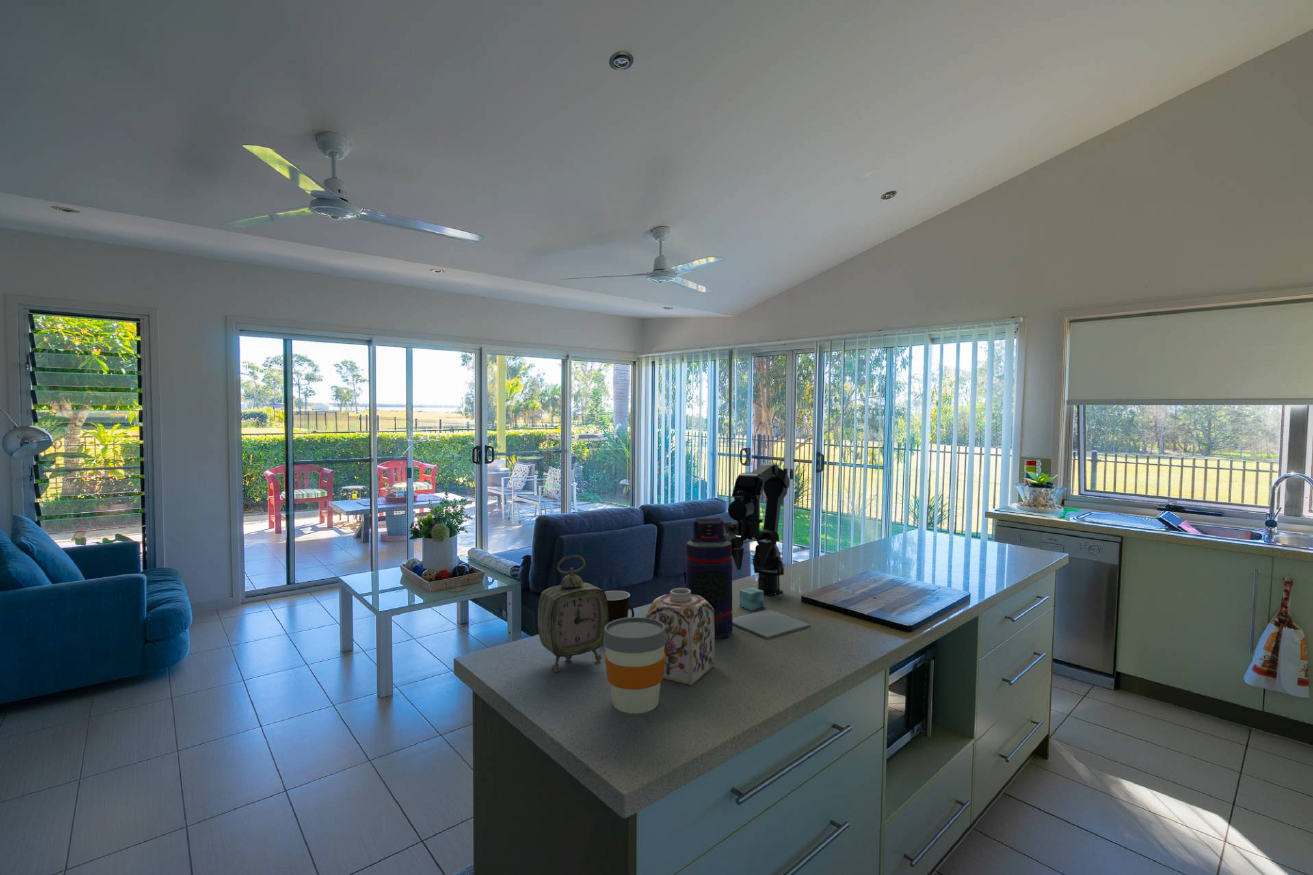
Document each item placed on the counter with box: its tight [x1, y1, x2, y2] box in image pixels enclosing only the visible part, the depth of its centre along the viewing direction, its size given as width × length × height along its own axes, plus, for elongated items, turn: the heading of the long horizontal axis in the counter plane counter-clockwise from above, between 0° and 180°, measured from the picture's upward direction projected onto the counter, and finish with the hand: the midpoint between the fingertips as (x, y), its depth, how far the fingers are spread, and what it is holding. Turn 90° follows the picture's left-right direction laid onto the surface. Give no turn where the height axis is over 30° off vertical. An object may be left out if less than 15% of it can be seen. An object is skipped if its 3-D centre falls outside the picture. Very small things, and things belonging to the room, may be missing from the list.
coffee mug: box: [604, 590, 635, 623], centre depth 153 cm, size 12×9×10 cm
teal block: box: [739, 586, 765, 611], centre depth 175 cm, size 5×5×5 cm
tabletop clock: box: [537, 554, 609, 673], centre depth 135 cm, size 14×9×25 cm, turn 123°
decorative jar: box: [645, 587, 716, 686], centre depth 130 cm, size 12×12×18 cm
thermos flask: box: [685, 517, 734, 641], centre depth 153 cm, size 14×12×30 cm
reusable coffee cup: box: [603, 616, 667, 714], centre depth 115 cm, size 13×13×15 cm
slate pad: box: [732, 608, 811, 640], centre depth 160 cm, size 16×16×1 cm
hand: (750, 567), depth 175 cm, fingers open, 9 cm apart
